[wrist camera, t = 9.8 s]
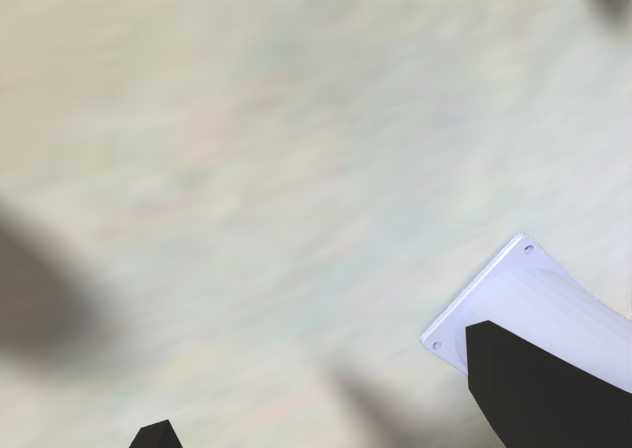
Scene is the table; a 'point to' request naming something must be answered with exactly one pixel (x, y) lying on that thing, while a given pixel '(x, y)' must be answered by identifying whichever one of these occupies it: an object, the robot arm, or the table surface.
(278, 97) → the table surface
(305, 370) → the table surface
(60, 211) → the table surface
